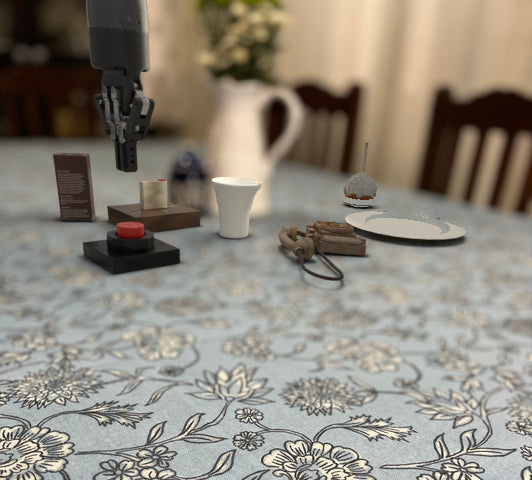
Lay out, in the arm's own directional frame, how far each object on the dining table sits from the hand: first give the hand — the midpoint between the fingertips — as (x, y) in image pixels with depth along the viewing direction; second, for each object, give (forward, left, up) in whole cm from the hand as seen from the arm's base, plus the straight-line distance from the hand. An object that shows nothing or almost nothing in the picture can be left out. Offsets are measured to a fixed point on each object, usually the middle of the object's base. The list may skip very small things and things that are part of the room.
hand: (126, 170), depth 74 cm
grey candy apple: (+71, +14, -13) cm, 73 cm away
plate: (+58, -9, -13) cm, 60 cm away
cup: (+24, +5, -13) cm, 28 cm away
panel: (+15, +19, -13) cm, 27 cm away
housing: (0, 0, -13) cm, 13 cm away
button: (0, 0, -9) cm, 9 cm away
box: (+4, +29, -13) cm, 32 cm away
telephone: (+29, -13, -13) cm, 34 cm away
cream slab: (+15, +19, -10) cm, 26 cm away
